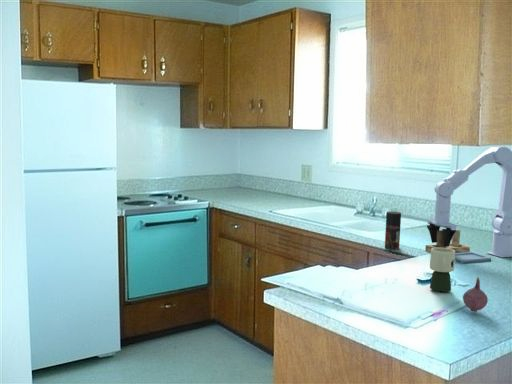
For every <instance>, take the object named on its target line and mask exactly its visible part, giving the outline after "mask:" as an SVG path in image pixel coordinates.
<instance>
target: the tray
mask: <svg viewBox="0 0 512 384" xmlns="http://www.w3.org/2000/svg"><path fill="white" fill-rule="evenodd" d="M491 261H492V257H491V256H488V255H483V254H480V253H477V252H473V251H470V252H464V253H455V262H458V263H461V264H468V263H480V262H491Z"/></svg>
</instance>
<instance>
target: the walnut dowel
mask: <svg viewBox="0 0 512 384" xmlns="http://www.w3.org/2000/svg"><path fill="white" fill-rule="evenodd" d="M435 244H436V247H439V248H444V236H443V231H442V229H439V230H437V242H436V243H435Z"/></svg>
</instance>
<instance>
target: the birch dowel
mask: <svg viewBox="0 0 512 384" xmlns="http://www.w3.org/2000/svg"><path fill="white" fill-rule="evenodd" d="M460 239H461V230H460V229H457V228H456V233H455V234H454V235H453V237H452V239H451V243H452V246H453V247H459V244H460V241H461V240H460Z"/></svg>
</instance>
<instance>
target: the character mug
mask: <svg viewBox="0 0 512 384" xmlns="http://www.w3.org/2000/svg"><path fill="white" fill-rule="evenodd" d="M455 262H456V261H455V250H452V249H448V248H439V247H437V248H431V253H430V258H429V269H430V270H431V271H433V272H432V275H431V279H430V284H429V289H431V290H432V291H433V290H434V291H438V292H439V293H442V292H445V293H447V292H448V293H449V292H451V291H452V282H451V274H450V272H454V271H455V264H456V263H455Z"/></svg>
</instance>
